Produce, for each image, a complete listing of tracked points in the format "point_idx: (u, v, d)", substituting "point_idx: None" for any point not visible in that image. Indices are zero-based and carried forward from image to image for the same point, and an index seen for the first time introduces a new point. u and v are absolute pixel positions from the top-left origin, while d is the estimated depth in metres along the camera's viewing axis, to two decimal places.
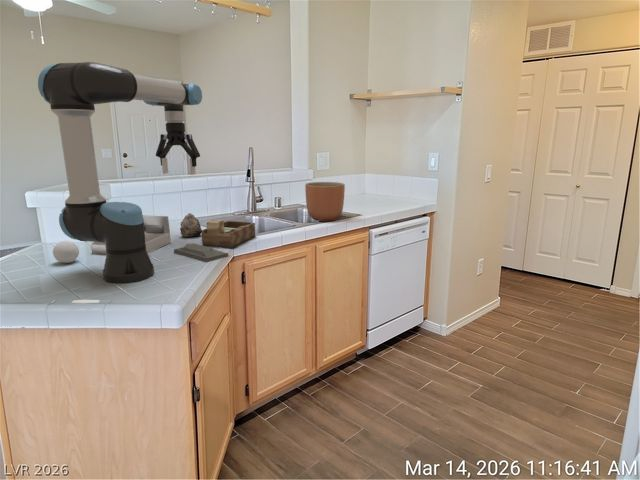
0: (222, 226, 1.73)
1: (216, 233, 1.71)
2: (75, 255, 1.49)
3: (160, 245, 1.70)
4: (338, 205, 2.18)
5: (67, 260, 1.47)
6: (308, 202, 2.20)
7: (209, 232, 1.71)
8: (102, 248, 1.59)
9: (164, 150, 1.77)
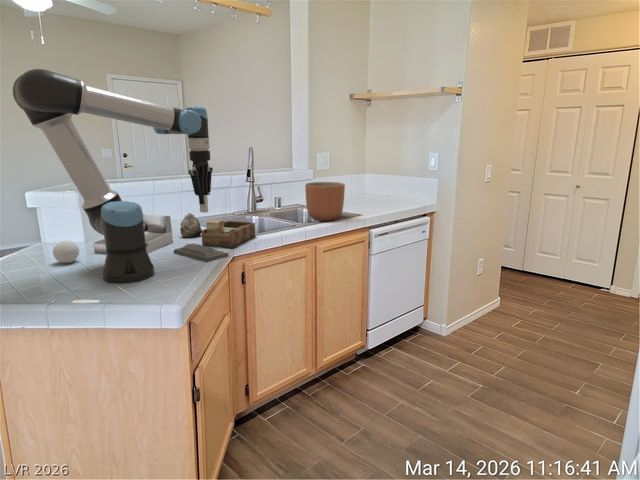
0: (222, 226, 1.73)
1: (216, 233, 1.71)
2: (75, 255, 1.49)
3: (162, 244, 1.71)
4: (338, 205, 2.18)
5: (67, 260, 1.47)
6: (308, 202, 2.20)
7: (209, 232, 1.71)
8: (104, 247, 1.61)
9: None
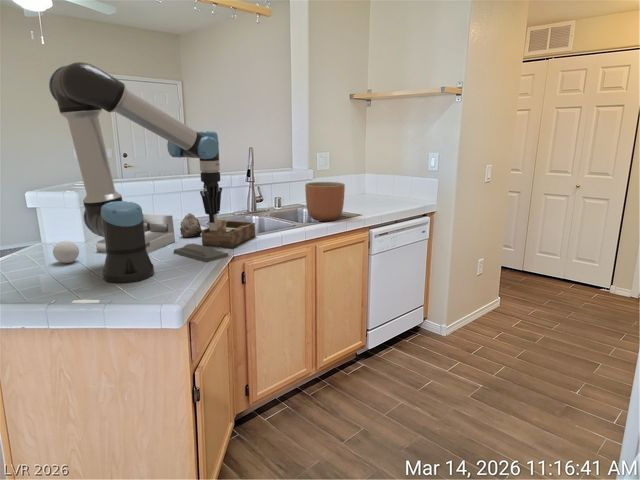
0: (224, 225, 1.75)
1: (218, 232, 1.72)
2: (75, 255, 1.49)
3: (164, 244, 1.72)
4: (338, 205, 2.18)
5: (67, 260, 1.47)
6: (308, 202, 2.20)
7: (211, 231, 1.73)
8: None
9: None
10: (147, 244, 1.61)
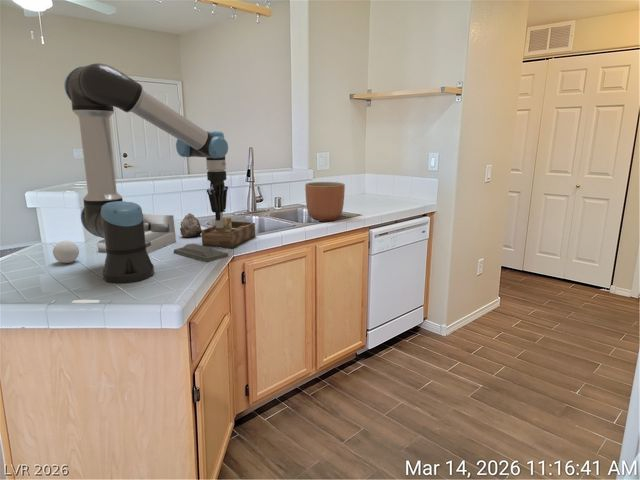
0: (230, 223, 1.79)
1: (224, 230, 1.76)
2: (75, 255, 1.49)
3: (165, 244, 1.72)
4: (338, 205, 2.18)
5: (67, 260, 1.47)
6: (308, 202, 2.20)
7: (217, 229, 1.77)
8: None
9: None
10: (148, 244, 1.62)
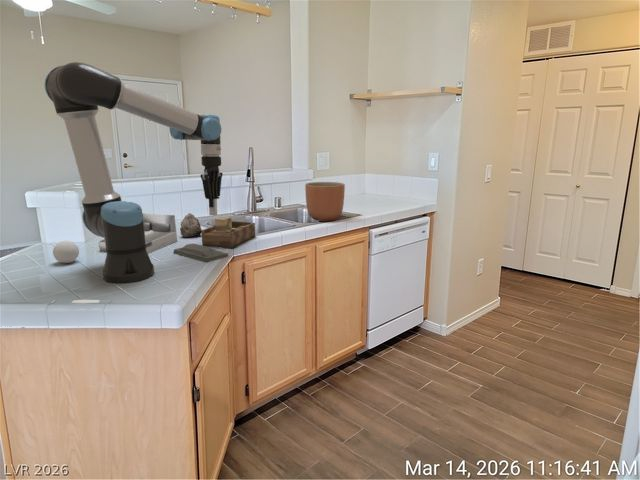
0: (230, 223, 1.79)
1: (224, 230, 1.76)
2: (75, 255, 1.49)
3: (166, 243, 1.73)
4: (338, 205, 2.18)
5: (67, 260, 1.47)
6: (308, 202, 2.20)
7: (217, 229, 1.77)
8: None
9: None
10: (149, 243, 1.62)
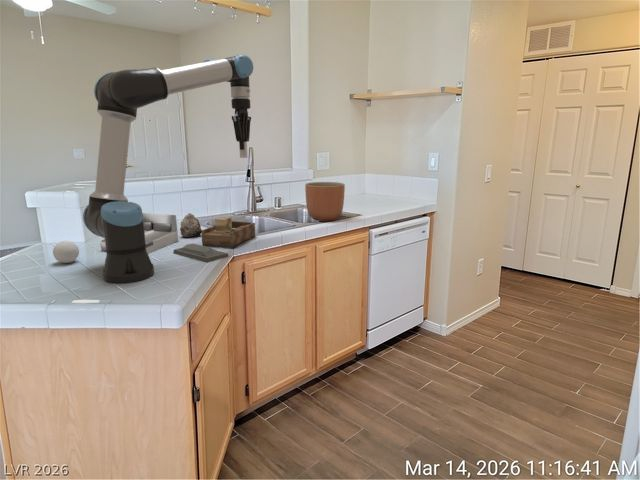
0: (230, 223, 1.79)
1: (224, 230, 1.76)
2: (75, 255, 1.49)
3: (167, 243, 1.73)
4: (338, 205, 2.18)
5: (67, 260, 1.47)
6: (308, 202, 2.20)
7: (217, 229, 1.77)
8: None
9: None
10: (150, 243, 1.63)
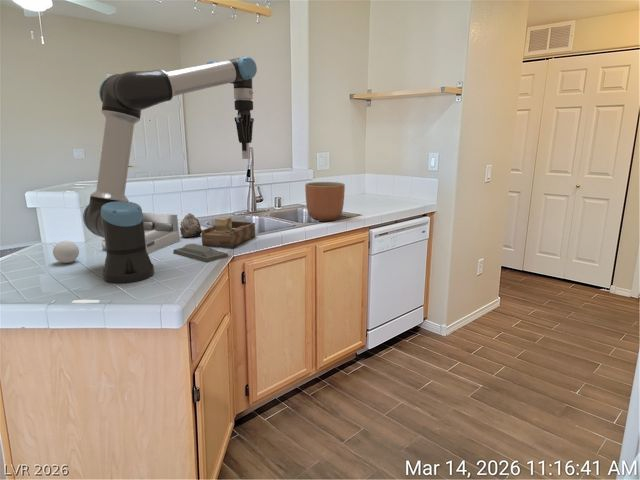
0: (230, 223, 1.79)
1: (224, 230, 1.76)
2: (75, 255, 1.49)
3: (169, 243, 1.74)
4: (338, 205, 2.18)
5: (67, 260, 1.47)
6: (308, 202, 2.20)
7: (217, 229, 1.77)
8: None
9: None
10: (152, 243, 1.63)
